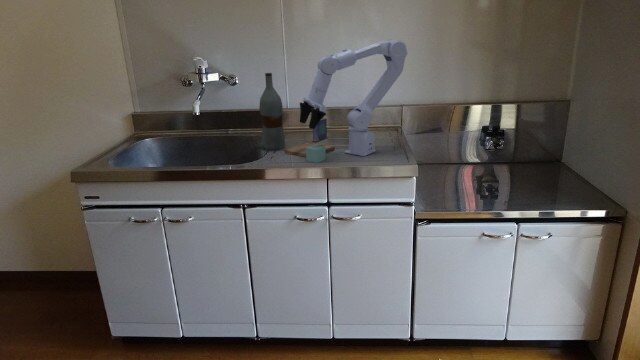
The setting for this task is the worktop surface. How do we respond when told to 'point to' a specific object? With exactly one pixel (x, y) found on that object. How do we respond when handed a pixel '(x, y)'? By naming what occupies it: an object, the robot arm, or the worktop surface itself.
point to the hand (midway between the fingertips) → (306, 125)
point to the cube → (315, 153)
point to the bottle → (271, 117)
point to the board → (301, 149)
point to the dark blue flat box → (320, 130)
